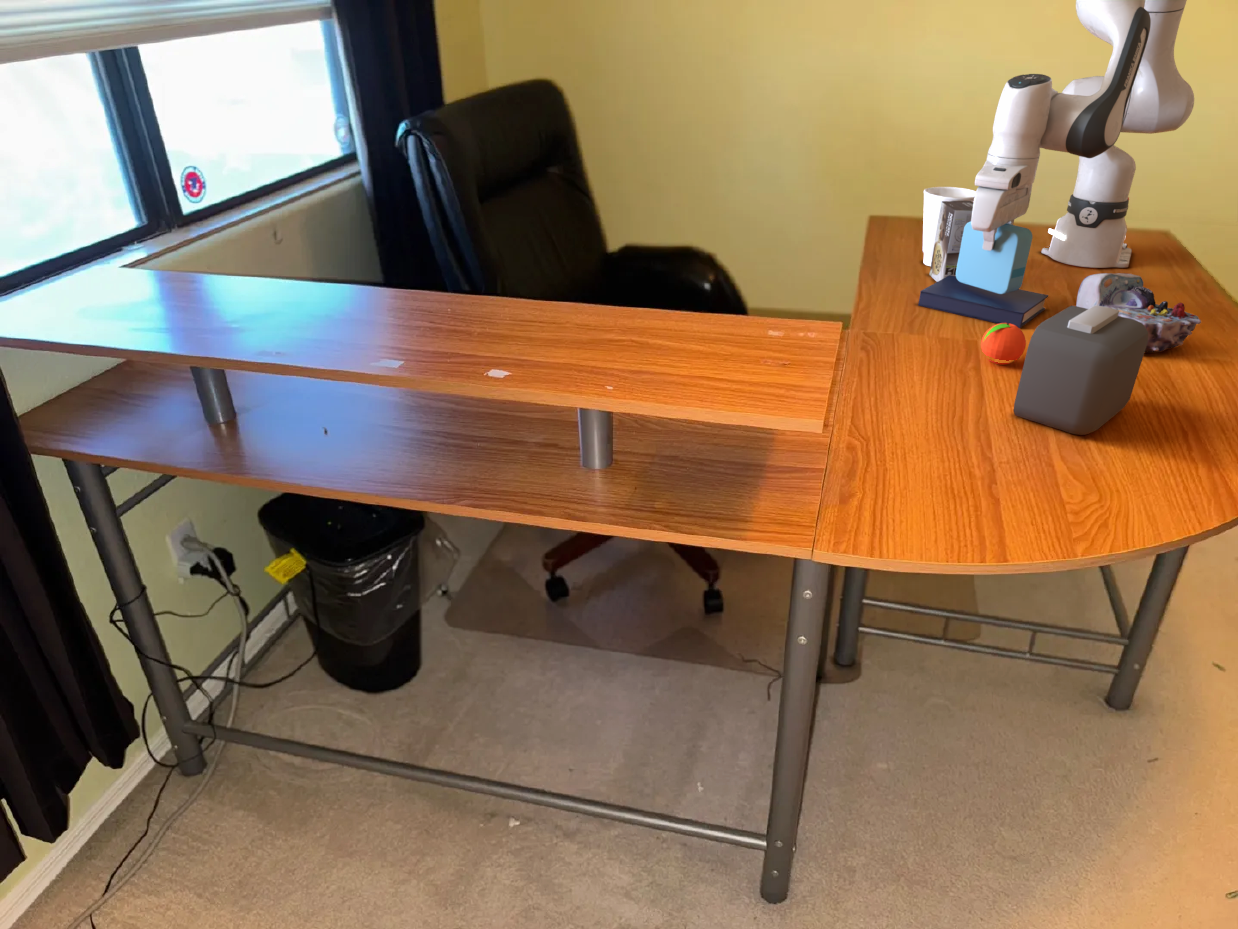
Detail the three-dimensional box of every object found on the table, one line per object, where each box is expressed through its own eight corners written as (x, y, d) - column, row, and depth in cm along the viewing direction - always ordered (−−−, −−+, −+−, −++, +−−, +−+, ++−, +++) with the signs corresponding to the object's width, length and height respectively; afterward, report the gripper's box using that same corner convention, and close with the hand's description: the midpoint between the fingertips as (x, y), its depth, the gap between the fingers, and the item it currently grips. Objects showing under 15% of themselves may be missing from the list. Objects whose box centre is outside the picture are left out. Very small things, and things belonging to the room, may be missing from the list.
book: (946, 289, 185) (949, 275, 183) (1045, 309, 173) (1048, 295, 172) (918, 305, 176) (920, 290, 174) (1019, 328, 164) (1023, 313, 163)
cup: (908, 255, 207) (919, 185, 199) (960, 257, 206) (974, 187, 198) (916, 269, 197) (928, 196, 189) (971, 272, 195) (986, 198, 188)
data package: (1020, 292, 169) (1035, 229, 163) (1006, 296, 167) (1020, 233, 161) (968, 276, 178) (979, 216, 172) (953, 280, 176) (965, 219, 170)
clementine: (992, 374, 145) (1001, 333, 142) (963, 359, 151) (971, 319, 147) (1030, 367, 148) (1039, 327, 144) (1000, 353, 153) (1008, 314, 150)
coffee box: (971, 287, 186) (986, 209, 178) (940, 287, 186) (954, 209, 178) (957, 274, 194) (971, 199, 186) (928, 274, 194) (941, 199, 186)
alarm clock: (1055, 388, 140) (1080, 294, 132) (1131, 411, 133) (1162, 312, 125) (1010, 420, 130) (1034, 319, 122) (1089, 446, 123) (1120, 341, 115)
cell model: (1121, 261, 164) (1221, 294, 148) (1104, 316, 170) (1199, 354, 154) (1069, 268, 160) (1168, 304, 144) (1054, 325, 165) (1147, 365, 149)
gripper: (1012, 161, 170) (998, 232, 177) (971, 177, 157) (957, 254, 164) (1046, 165, 167) (1030, 238, 174) (1007, 181, 153) (991, 260, 160)
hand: (994, 246), depth 169 cm, fingers closed on data package, 5 cm apart
